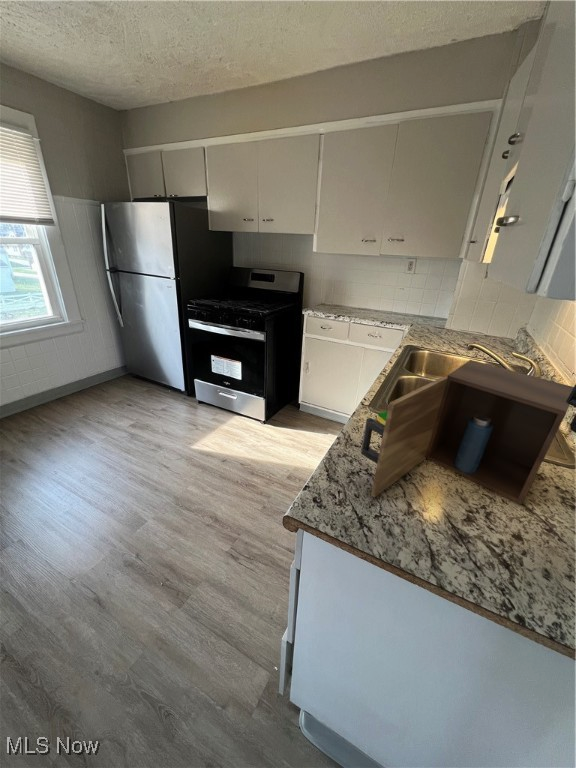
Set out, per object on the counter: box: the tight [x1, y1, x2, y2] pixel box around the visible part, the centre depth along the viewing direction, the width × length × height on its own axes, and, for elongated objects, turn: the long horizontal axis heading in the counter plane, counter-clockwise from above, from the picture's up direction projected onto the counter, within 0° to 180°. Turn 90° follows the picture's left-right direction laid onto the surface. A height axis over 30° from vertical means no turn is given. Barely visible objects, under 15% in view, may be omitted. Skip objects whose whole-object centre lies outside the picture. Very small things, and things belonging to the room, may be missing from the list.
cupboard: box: [425, 359, 574, 506], centre depth 76 cm, size 16×22×24 cm
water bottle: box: [454, 414, 493, 474], centre depth 76 cm, size 5×5×14 cm
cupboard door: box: [360, 375, 448, 498], centre depth 73 cm, size 7×22×24 cm, turn 130°
